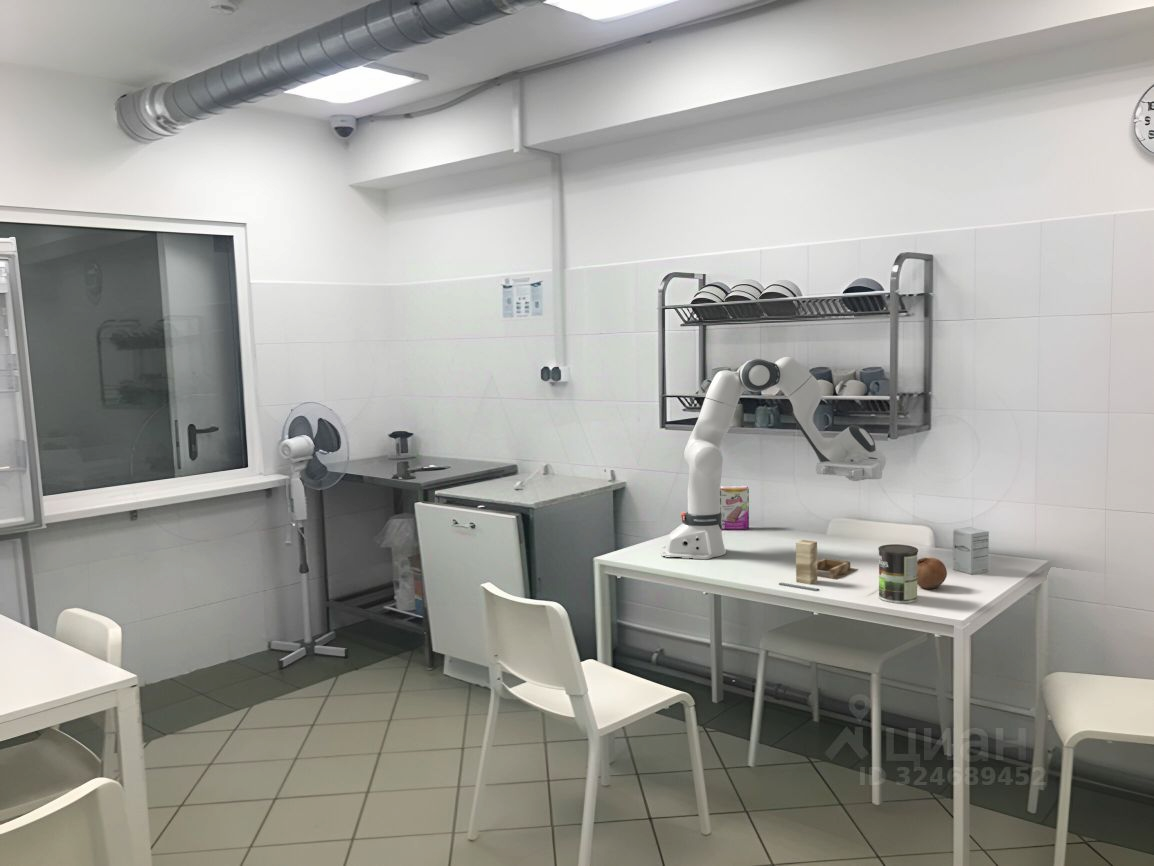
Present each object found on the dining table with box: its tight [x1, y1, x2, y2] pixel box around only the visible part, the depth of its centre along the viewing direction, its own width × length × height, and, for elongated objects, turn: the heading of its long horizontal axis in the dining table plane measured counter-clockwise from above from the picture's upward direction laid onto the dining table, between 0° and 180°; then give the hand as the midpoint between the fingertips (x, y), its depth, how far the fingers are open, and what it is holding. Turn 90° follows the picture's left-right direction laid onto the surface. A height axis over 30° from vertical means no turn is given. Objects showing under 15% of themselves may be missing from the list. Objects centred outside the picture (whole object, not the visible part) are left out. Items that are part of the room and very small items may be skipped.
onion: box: [917, 557, 948, 590], centre depth 258 cm, size 10×9×10 cm
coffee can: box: [878, 543, 919, 604], centre depth 248 cm, size 10×10×14 cm
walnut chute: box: [817, 557, 859, 580], centre depth 278 cm, size 15×12×3 cm
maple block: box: [795, 539, 818, 585], centre depth 267 cm, size 4×4×12 cm
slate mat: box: [778, 582, 820, 592], centre depth 267 cm, size 12×12×1 cm
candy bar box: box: [720, 485, 750, 531], centre depth 347 cm, size 11×5×16 cm, turn 84°
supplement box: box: [952, 526, 990, 575], centre depth 274 cm, size 7×7×13 cm
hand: (837, 472), depth 283 cm, fingers open, 8 cm apart
